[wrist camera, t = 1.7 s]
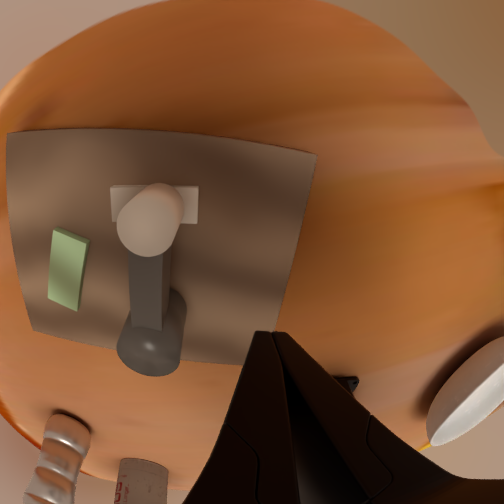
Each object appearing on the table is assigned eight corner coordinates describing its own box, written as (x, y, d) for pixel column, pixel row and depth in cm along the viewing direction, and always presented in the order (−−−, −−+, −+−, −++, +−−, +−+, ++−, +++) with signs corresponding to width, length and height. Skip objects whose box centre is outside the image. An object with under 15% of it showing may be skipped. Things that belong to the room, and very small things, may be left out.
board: (260, 349, 24) (264, 371, 21) (42, 316, 20) (30, 334, 18) (307, 151, 17) (320, 156, 15) (23, 130, 14) (1, 134, 12)
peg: (185, 331, 19) (179, 379, 15) (135, 324, 19) (120, 370, 15) (199, 181, 15) (190, 203, 11) (135, 175, 15) (105, 195, 11)
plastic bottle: (72, 434, 29) (48, 545, 11) (42, 407, 26) (5, 525, 8) (103, 434, 29) (82, 559, 11) (71, 406, 26) (36, 543, 8)
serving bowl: (414, 430, 37) (428, 458, 31) (408, 376, 29) (433, 417, 22) (501, 368, 35) (518, 390, 29) (519, 290, 26) (549, 317, 20)
